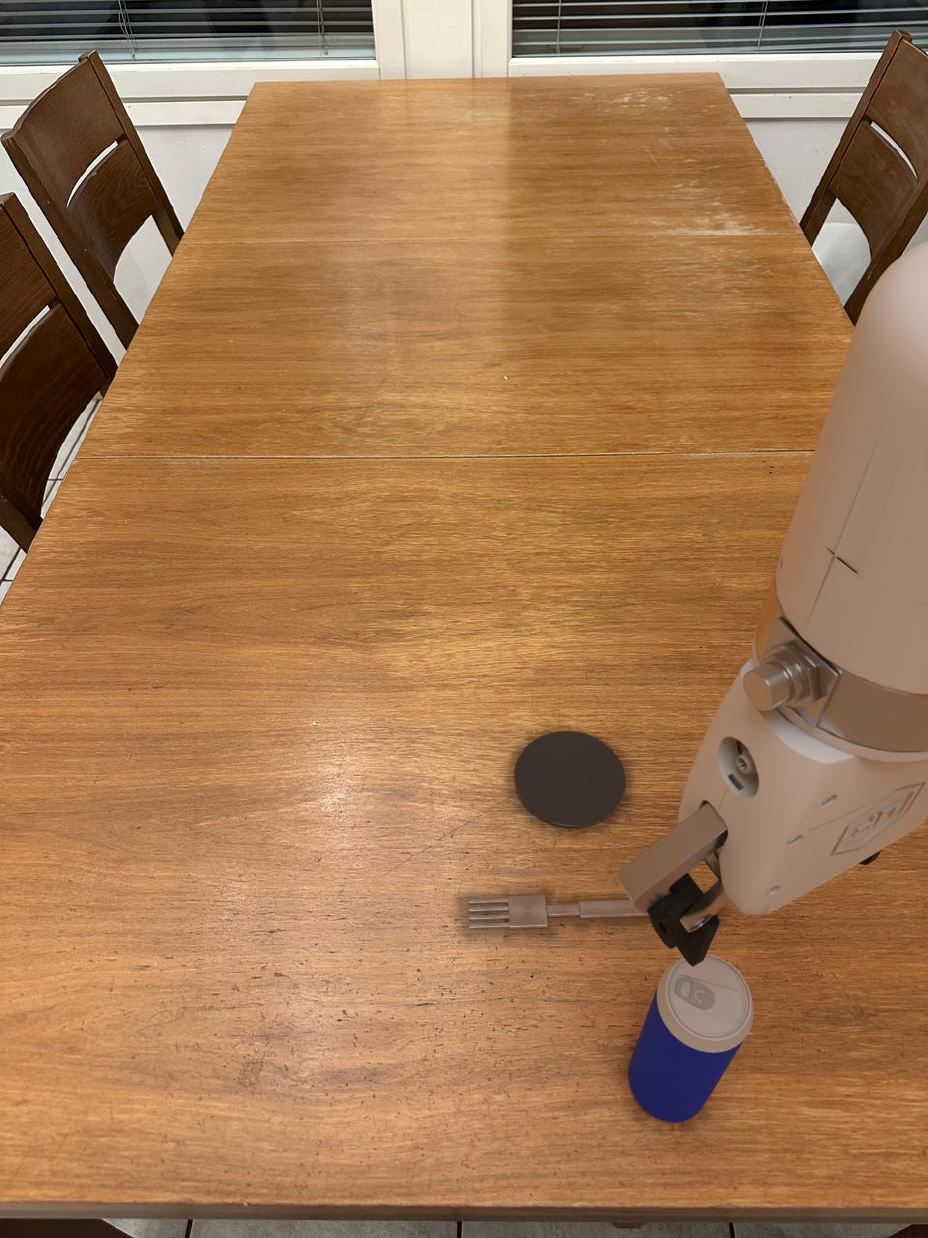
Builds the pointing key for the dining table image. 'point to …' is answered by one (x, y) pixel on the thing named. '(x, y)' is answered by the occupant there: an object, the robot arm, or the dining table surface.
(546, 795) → the coaster
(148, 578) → the dining table surface
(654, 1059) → the beverage can
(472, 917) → the fork
